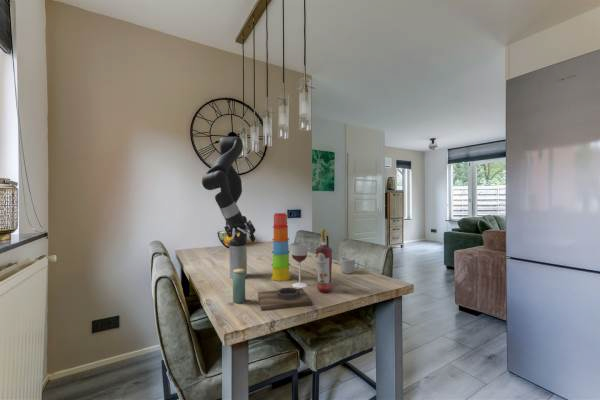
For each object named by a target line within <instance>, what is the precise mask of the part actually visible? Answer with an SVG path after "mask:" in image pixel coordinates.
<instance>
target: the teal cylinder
mask: <svg viewBox="0 0 600 400" xmlns="http://www.w3.org/2000/svg"><path fill="white" fill-rule="evenodd" d="M245 302H246V277H245V270H244V269H235V270H233V279H232V303H234V304H242V303H245Z"/></svg>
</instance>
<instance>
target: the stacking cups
mask: <svg viewBox="0 0 600 400" xmlns="http://www.w3.org/2000/svg"><path fill="white" fill-rule="evenodd" d="M272 228H273V237H272V241H273V244H272V246H273V247H272V248H273V249H272V250H273V251H271V253H272V263H271V266H272V276H271V280H272V281H277V282H284V281H288V280H290V279H291V275H290V266H291V263H290V250H289V240H290V238H289V235H288V234H289V232H288V231H289V230H288V229H289V225H288V214H287V213H286V212H278V213H277V212H276V213H274V215H273V226H272Z"/></svg>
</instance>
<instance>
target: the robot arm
mask: <svg viewBox="0 0 600 400" xmlns="http://www.w3.org/2000/svg"><path fill="white" fill-rule="evenodd" d="M243 148H244V144H243V140H242V138H241V137H239V136H222V137H220V139H219V151H220V156H219V157H218V158H217V159H216V160H215V162H214V164H213V165H212V167H211V168H209V169H208V170H207V171H206V172H205V173H204V175H203V176H202V179H201V184H202V187H203V188H204V189H205V190H207V191H213V190H216V189H220V191H219V192H217V193H216V194H215V195H214V199H215V202H216V204H217V206H218V208H219V211H220V212H221V215H222V216H223V218H224V220H225V226H224V230H225V232H226V234H227V236H228V238H232V239H230V240H229V242H228V245H229V246H228V247H229V248H228V249H229V278H230V279H231V280H233V270H235V269H244V270H245V278H247V276H248V256H247V255H248V247H247V246H248V245H247V240H248V237H249V240H250V242H251V243H254V242H255V241H256V237H255V235H254V234H255V232H257V231H256V228H255V226H254V224H253V223H252V221H251V220H248V219H247V216H246V215H245V216H244V215H243V214H242V212H241V210H240V209H239V205H238V204H237V202H238V201H239V199H240V198H241V196H242V194H243V185H242V183H243V181H242V178H241V177H240V175H239V173H238V172H237V171H236V170H235V168H234V166H233V163H235V161H236V160H237V159H238V158H239V157H240V155H241V154H242V152H243Z"/></svg>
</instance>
